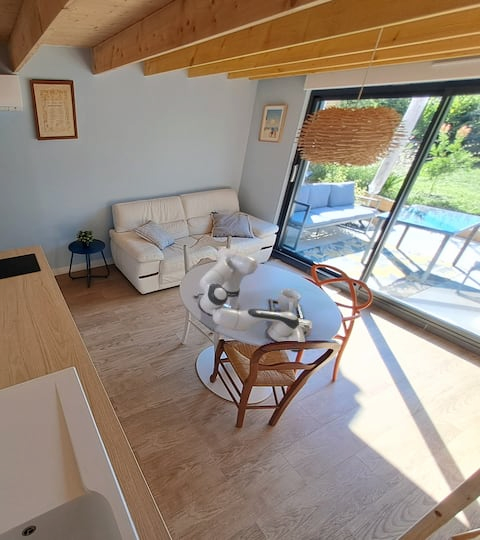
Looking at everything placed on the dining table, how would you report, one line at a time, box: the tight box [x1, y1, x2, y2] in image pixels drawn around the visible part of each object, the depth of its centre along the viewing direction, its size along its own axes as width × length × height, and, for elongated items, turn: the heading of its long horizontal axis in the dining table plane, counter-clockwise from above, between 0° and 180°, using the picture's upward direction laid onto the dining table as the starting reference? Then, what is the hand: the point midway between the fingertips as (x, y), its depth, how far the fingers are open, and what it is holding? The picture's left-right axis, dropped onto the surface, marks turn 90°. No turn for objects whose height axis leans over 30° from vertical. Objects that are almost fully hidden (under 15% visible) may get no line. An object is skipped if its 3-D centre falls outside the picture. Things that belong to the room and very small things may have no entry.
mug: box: [277, 288, 302, 313], centre depth 178 cm, size 15×11×13 cm
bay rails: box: [269, 298, 304, 319], centre depth 184 cm, size 18×16×1 cm
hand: (290, 314), depth 171 cm, fingers closed
